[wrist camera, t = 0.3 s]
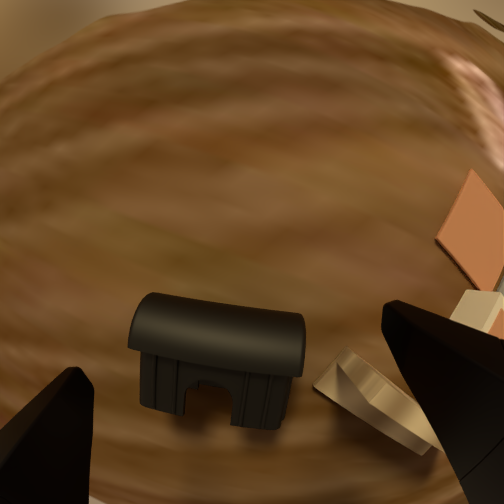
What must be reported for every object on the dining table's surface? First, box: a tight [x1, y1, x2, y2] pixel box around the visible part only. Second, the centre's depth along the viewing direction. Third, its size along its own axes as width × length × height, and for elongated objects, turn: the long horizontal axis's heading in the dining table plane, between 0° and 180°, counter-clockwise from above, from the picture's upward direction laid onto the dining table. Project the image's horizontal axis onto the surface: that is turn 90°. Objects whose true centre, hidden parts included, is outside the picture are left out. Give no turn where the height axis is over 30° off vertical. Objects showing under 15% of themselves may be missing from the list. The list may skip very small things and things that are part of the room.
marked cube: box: [449, 290, 504, 339], centre depth 18 cm, size 5×5×5 cm
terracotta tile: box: [435, 169, 504, 292], centre depth 20 cm, size 9×9×1 cm
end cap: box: [128, 292, 306, 430], centre depth 18 cm, size 10×7×7 cm
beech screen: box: [313, 346, 445, 456], centre depth 16 cm, size 16×4×8 cm, turn 50°
